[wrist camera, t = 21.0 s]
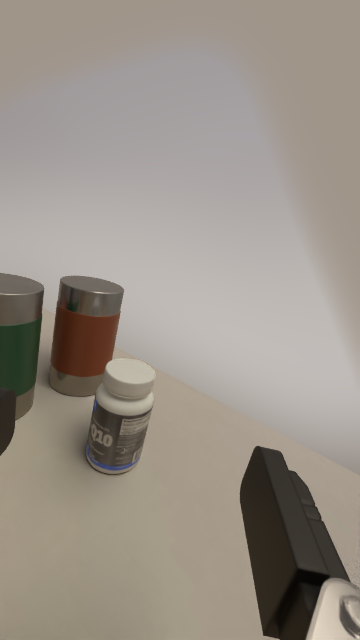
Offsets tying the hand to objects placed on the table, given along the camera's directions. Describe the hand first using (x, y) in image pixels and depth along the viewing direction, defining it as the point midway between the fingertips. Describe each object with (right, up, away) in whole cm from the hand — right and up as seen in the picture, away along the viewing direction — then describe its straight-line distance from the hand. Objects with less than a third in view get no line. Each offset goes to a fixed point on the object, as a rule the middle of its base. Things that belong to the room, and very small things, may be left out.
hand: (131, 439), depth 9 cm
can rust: (-10, -3, +25) cm, 27 cm away
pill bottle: (-4, -8, +16) cm, 18 cm away
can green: (-16, -4, +18) cm, 24 cm away
